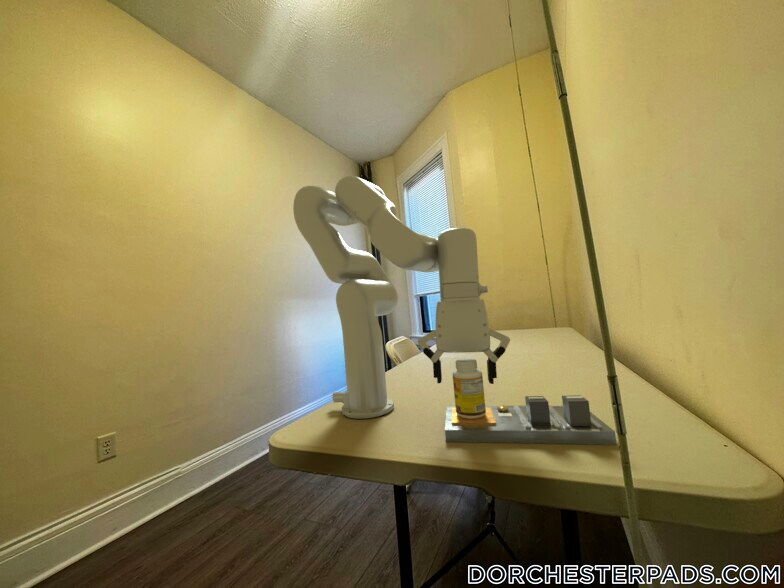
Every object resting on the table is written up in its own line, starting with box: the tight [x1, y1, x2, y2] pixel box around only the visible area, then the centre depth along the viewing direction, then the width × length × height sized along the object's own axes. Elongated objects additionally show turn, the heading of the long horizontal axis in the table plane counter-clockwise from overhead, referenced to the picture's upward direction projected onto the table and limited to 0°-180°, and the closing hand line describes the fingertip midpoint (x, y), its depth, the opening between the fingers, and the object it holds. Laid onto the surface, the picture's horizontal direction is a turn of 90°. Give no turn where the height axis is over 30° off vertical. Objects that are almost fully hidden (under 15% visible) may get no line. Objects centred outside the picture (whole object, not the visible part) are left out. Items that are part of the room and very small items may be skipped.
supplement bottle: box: [452, 358, 486, 419], centre depth 55 cm, size 6×6×10 cm
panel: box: [444, 395, 617, 446], centre depth 53 cm, size 26×12×6 cm, turn 77°
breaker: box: [561, 394, 591, 426], centre depth 49 cm, size 3×3×4 cm
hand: (464, 381), depth 56 cm, fingers open, 9 cm apart
